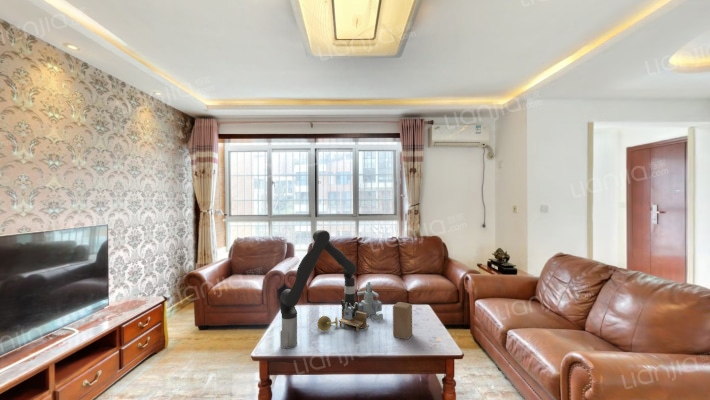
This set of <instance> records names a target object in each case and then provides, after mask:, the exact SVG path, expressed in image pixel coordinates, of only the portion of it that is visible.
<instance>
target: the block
mask: <svg viewBox="0 0 710 400" xmlns="http://www.w3.org/2000/svg"><path fill="white" fill-rule="evenodd" d="M392 333H393V334H392V335H393V337H394V338H398V339H401V340H402V339H403V340H408V339H409V338H410V337H411V336H412V335H413V305H412V303H408V302H403V301H402V302H401V301H398V302H396V303H395V304H394V305H393V306H392Z"/></svg>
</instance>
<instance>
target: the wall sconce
mask: <svg viewBox="0 0 710 400" xmlns="http://www.w3.org/2000/svg"><path fill="white" fill-rule="evenodd" d="M332 324H334V325H335V327H336V328H338V327H339V320H338V317H337V316H335V321H331V318H330V317H329V316H327V315H322V316H320V317H319V318H318V320H317V324H316V325H317V328H318V329H319V330H320V331H322V332H327V331H329V330H330V328H331V326H332Z"/></svg>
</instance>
